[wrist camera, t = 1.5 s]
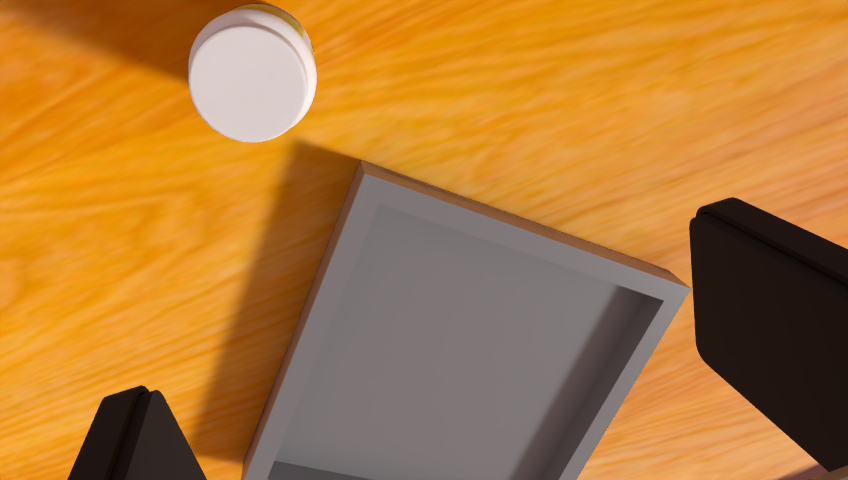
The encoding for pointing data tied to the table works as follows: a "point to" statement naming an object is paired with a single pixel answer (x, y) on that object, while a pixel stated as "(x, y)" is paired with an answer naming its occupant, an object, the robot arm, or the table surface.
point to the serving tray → (456, 344)
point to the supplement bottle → (252, 73)
